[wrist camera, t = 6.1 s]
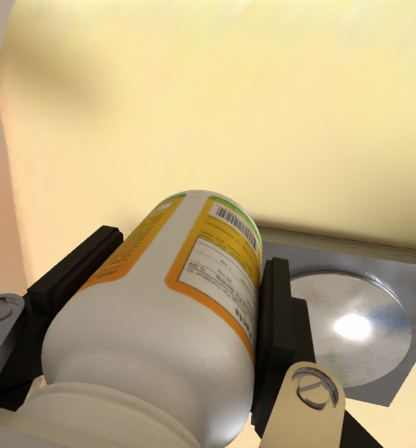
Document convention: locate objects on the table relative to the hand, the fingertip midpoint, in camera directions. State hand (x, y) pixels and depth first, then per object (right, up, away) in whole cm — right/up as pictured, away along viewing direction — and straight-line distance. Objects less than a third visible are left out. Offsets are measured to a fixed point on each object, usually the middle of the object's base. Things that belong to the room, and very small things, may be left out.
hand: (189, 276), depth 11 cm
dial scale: (+12, -8, +23) cm, 27 cm away
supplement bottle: (0, +1, +2) cm, 3 cm away
